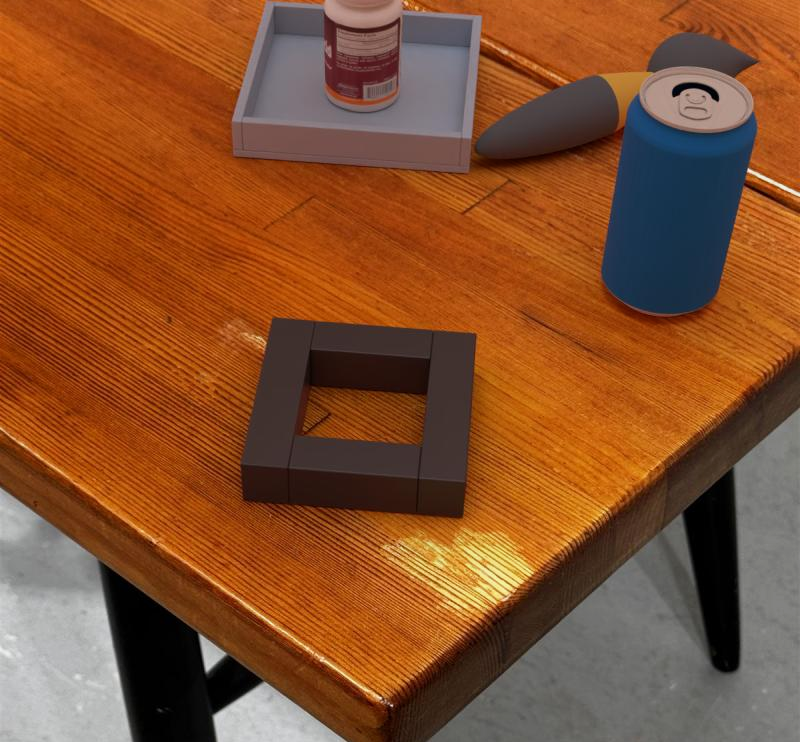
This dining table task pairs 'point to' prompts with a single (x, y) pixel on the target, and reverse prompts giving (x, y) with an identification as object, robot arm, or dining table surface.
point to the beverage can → (678, 190)
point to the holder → (358, 459)
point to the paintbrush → (599, 101)
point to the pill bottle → (362, 53)
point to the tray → (349, 130)
